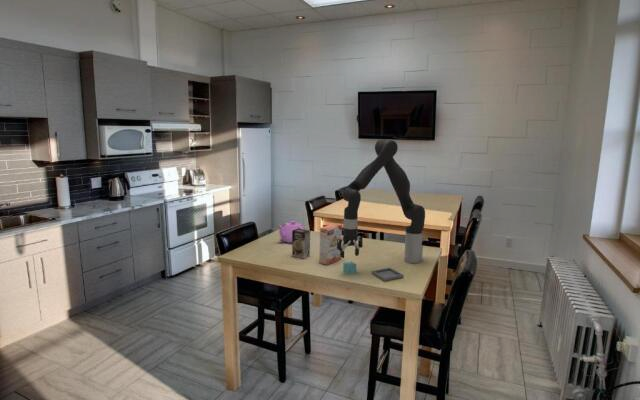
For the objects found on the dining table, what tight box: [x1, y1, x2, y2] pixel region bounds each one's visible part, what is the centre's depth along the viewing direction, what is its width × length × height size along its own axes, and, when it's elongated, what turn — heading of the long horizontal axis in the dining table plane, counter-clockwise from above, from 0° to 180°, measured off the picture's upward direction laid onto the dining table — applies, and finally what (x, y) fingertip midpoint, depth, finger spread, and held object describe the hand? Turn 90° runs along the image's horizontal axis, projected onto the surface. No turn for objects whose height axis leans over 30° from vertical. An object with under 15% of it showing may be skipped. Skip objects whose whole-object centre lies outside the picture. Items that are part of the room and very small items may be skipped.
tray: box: [371, 267, 404, 283], centre depth 201 cm, size 12×12×2 cm
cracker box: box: [318, 223, 343, 266], centre depth 221 cm, size 14×6×21 cm, turn 142°
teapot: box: [277, 220, 305, 244], centre depth 261 cm, size 22×22×14 cm
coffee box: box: [291, 228, 311, 260], centre depth 230 cm, size 9×6×16 cm
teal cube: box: [342, 261, 357, 275], centre depth 206 cm, size 5×5×5 cm
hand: (349, 256), depth 204 cm, fingers open, 8 cm apart
